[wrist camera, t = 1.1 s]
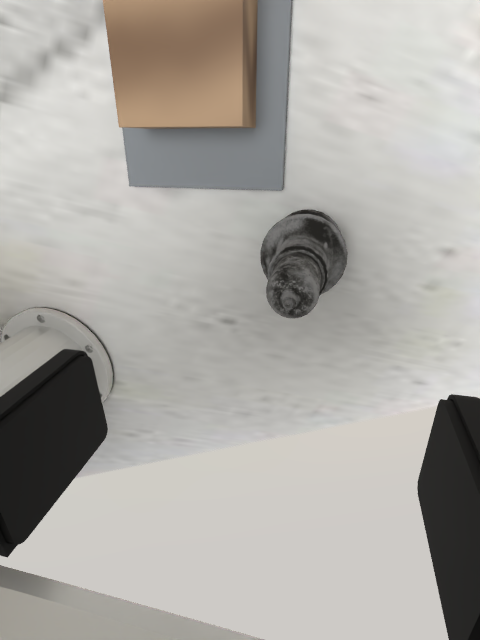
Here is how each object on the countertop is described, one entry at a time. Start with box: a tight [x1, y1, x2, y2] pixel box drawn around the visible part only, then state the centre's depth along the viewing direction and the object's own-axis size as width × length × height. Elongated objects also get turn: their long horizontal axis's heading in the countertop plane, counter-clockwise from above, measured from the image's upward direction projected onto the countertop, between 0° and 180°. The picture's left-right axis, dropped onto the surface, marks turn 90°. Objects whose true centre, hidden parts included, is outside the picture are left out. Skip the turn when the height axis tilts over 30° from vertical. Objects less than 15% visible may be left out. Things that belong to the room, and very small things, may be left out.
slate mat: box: [122, 0, 292, 190], centre depth 25 cm, size 16×12×1 cm
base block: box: [103, 0, 258, 129], centre depth 23 cm, size 8×8×4 cm
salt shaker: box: [261, 210, 347, 318], centre depth 23 cm, size 6×6×12 cm
